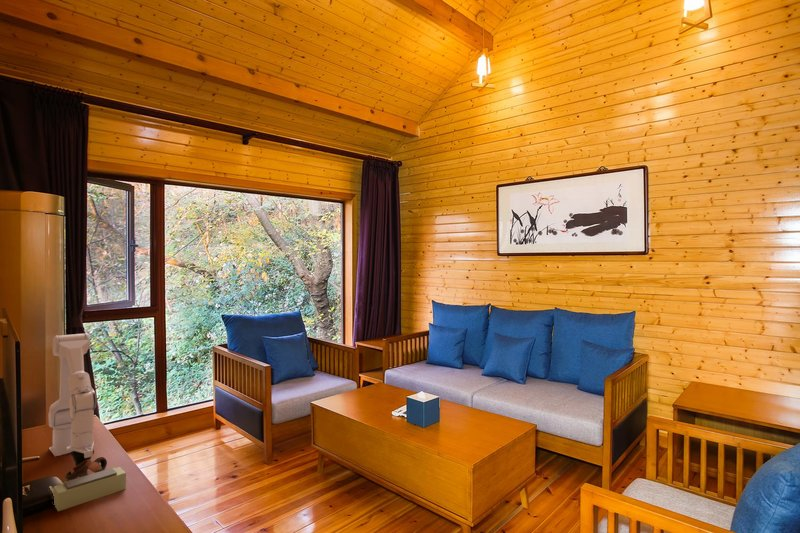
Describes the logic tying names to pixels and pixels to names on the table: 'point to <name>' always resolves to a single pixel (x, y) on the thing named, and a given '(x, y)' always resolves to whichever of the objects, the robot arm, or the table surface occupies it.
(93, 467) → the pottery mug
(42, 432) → the table surface
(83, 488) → the deck bay
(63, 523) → the table surface
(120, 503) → the table surface
